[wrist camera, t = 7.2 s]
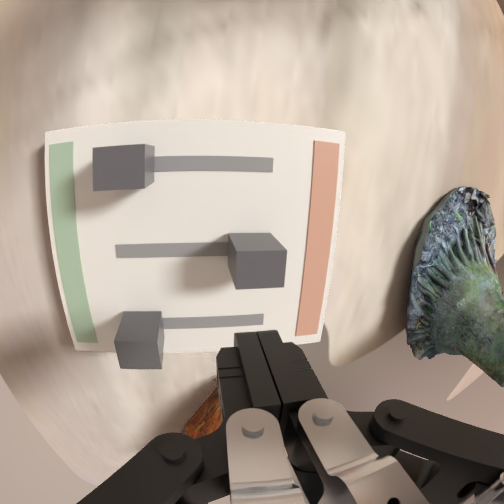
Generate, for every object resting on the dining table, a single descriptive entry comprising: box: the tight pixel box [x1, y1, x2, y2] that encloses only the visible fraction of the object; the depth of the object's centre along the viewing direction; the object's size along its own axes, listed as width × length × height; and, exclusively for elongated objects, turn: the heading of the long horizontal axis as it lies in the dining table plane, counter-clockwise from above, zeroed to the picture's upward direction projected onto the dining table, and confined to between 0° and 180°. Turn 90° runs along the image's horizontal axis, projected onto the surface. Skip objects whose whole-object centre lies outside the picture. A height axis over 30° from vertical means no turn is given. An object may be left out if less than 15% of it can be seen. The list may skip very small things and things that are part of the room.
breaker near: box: [92, 144, 155, 191], centre depth 16 cm, size 3×2×4 cm
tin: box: [182, 387, 223, 439], centre depth 26 cm, size 15×3×8 cm, turn 146°
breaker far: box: [114, 311, 165, 369], centre depth 20 cm, size 3×2×4 cm
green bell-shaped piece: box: [406, 187, 504, 387], centre depth 25 cm, size 19×21×19 cm
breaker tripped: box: [228, 233, 287, 290], centre depth 19 cm, size 3×2×4 cm
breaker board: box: [45, 119, 345, 353], centre depth 22 cm, size 22×18×3 cm
